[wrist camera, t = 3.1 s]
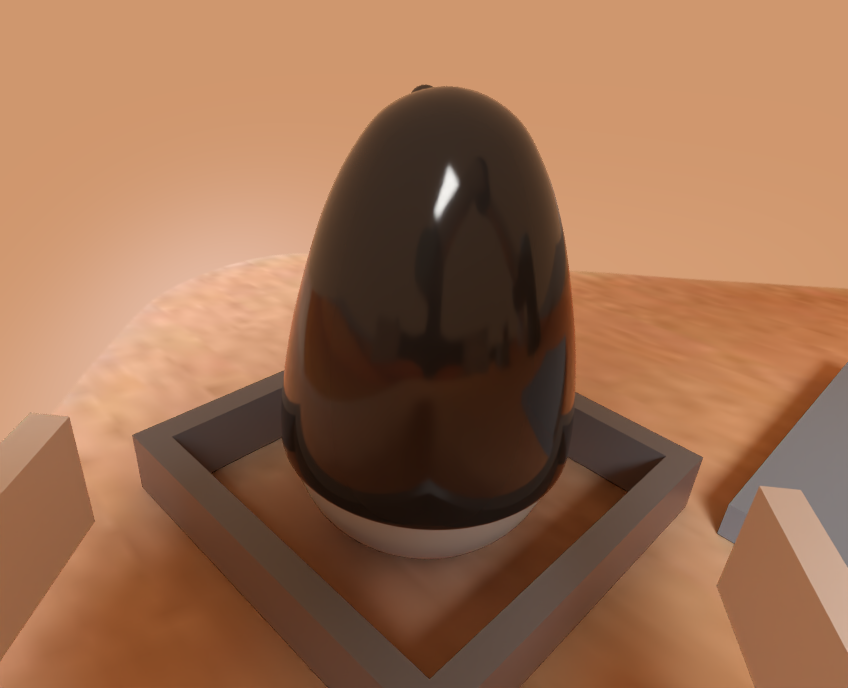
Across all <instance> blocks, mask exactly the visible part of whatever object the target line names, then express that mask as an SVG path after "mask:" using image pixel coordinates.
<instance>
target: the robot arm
mask: <svg viewBox="0 0 848 688" xmlns="http://www.w3.org/2000/svg"><path fill="white" fill-rule="evenodd" d="M94 522H95V520H94V516H93V512H92V508H91V504H90V500H89V495H88V491H87V487H86V483H85V479H84V475H83V471H82V467H81V463H80V459H79V455H78V451H77V447H76V442H75V438H74V434H73V430H72V426H71V422H70V418H69V417H68V416H58V415H48V414H37V413H29V414H28V415H27V416H26V417H25V418H24V419H23V420H22V421H21V422H20V423H19V424H18V426H17V427H16V428H15V429H14V430H13V431H12V432H11V433H10V434H9V435H8V436H7V437H6V438H5V439H4V440H3V441H2V442H1V443H0V661H1V659H2V658H3V656H4V655H5V653H6V652H7V650H8V649H9V647H10V646H11V644H12V643H13V641H14V640H15V639H16V637H17V636H18V634H19V633H20V631H21V630H22V628H23V627H24V625H25V624H26V622H27V621H28V619H29V618H30V616H31V615H32V613H33V612H34V610H35V609H36V607H37V606H38V605H39V603H40V602H41V600H42V599H43V597H44V596H45V594H46V593H47V591H48V590H49V588H50V587H51V585H52V584H53V582H54V581H55V579H56V578H57V576H58V575H59V573H60V572H61V570H62V569H63V568H64V566H65V565H66V563H67V562H68V560H69V559H70V557H71V556H72V554H73V553H74V551H75V550H76V548H77V547H78V545H79V544H80V542H81V541H82V539H83V538H84V536H85V535H86V533H87V532H88V531H89V529H90V528H91V526H92V525H93V523H94ZM717 588H718V591H719V593H720V596H721V599H722V601H723V604H724V607H725V609H726V612H727V615H728V617H729V620H730V623H731V625H732V628H733V631H734V633H735V636H736V639H737V641H738V644H739V646H740V649H741V652H742V654H743V657H744V660H745V662H746V665H747V668H748V670H749V673H750V676H751V678H752V681H753V684H754V686H755V688H848V567H847V566H846V564H845V562H844V561H843V559H842V557H841V556H840V554H839V552H838V551H837V549H836V547H835V546H834V544H833V542H832V541H831V539H830V537H829V536H828V534H827V532H826V531H825V529H824V527H823V526H822V524H821V522H820V521H819V519H818V517H817V516H816V514H815V512H814V511H813V509H812V507H811V506H810V504H809V502H808V501H807V499H806V498H805V496H804V494H803V493H802V491H801V490H797V489H787V488H777V487H767V486H759V488H758V490H757V493H756V495H755V497H754V500H753V502H752V504H751V507H750V509H749V511H748V514H747V516H746V518H745V521H744V523H743V525H742V528H741V530H740V532H739V535H738V537H737V539H736V542H735V544H734V546H733V549H732V551H731V553H730V556H729V558H728V560H727V563H726V565H725V567H724V570H723V572H722V574H721V577H720V579H719V581H718V584H717Z"/></svg>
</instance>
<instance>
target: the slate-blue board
mask: <svg viewBox="0 0 848 688" xmlns="http://www.w3.org/2000/svg"><path fill="white" fill-rule="evenodd" d="M759 486H767V487H777V488H787V489H797V490H801V491H802V493H803V494H804V496H805V498H806V499H807V501H808V502H809V504H810V506H811V507H812V509H813V511H814V512H815V514H816V516H817V517H818V519H819V521H820V522H821V524H822V526H823V527H824V529H825V531H826V532H827V534H828V536H829V537H830V539H831V541H832V542H833V544H834V546H835V547H836V549H837V551H838V552H839V554H840V556H841V557H842V559H843V561H844V562H845V564H846V566H847V567H848V362H847V364H846V365H845V366H844V367H843V368H842V369H841V371H840V372H839V373H838V374H837V375H836V377H835V378H834V379H833V380H832V381H831V383H830V384H829V385H828V386H827V387H826V389H825V390H824V391H823V392H822V393H821V395H820V396H819V397H818V398H817V399H816V401H815V402H814V403H813V404H812V405H811V407H810V408H809V409H808V410H807V411H806V413H805V414H804V415H803V416H802V417H801V419H800V420H799V421H798V422H797V423H796V425H795V426H794V427H793V428H792V429H791V431H790V432H789V433H788V434H787V435H786V437H785V438H784V439H783V440H782V441H781V442H780V444H779V445H778V446H777V447H776V448H775V450H774V451H773V452H772V453H771V454H770V456H769V457H768V458H767V459H766V460H765V462H764V463H763V464H762V465H761V466H760V468H759V469H758V470H757V471H756V472H755V474H754V475H753V476H752V477H751V478H750V480H749V481H748V482H747V483H746V484H745V486H744V487H743V488H742V489H741V490H740V492H739V493H738V494H737V495H736V496H735V498H734V499H733V500H732V501H731V502H730V504H729V505H728V508H727V510H726V513H725V515H724V518H723V520H722V523H721V525H720V528H719V530H718V533H717V534H719V535H721V536H722V537H724V538H726V539H728V540H729V541H731V542H733V543H735V542H736V539H737V537H738V535H739V532H740V530H741V528H742V525H743V523H744V521H745V518H746V516H747V514H748V511H749V509H750V507H751V504H752V502H753V500H754V497H755V495H756V493H757V490H758V488H759Z"/></svg>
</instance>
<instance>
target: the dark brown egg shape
mask: <svg viewBox="0 0 848 688" xmlns="http://www.w3.org/2000/svg"><path fill="white" fill-rule="evenodd" d="M575 378H576V349H575V326H574V313H573V302H572V292H571V283H570V274H569V266H568V258H567V251H566V244H565V238H564V233H563V227H562V223H561V218H560V214H559V209H558V205H557V202H556V198H555V194H554V191H553V188H552V184H551V181H550V179H549V176H548V173H547V171H546V168H545V165H544V163H543V161H542V158H541V156H540V154H539V151H538V150H537V147H536V145H535V143H534V141H533V139H532V137H531V136H530V134H529V132H528V131H527V129H526V128H525V126H524V125H523V124H522V122H521V121H520V120H519V119H518V118H517V117H516V116H515V115H514V114H513V113H512V112H511V111H510V110H508V109H507V108H506V107H505V106H503V105H502V104H500V103H499V102H497V101H496V100H494V99H492V98H490V97H489V96H486V95H484V94H482V93H479V92H477V91H474V90H470V89H465V88H460V87H448V86H446V87H445V86H442V87H432V86H430V85H421V86H418V87H416V88H415V89H414V90H413V91H412V92H411V94H408V95H406V96H403V97H402V98H399V99H398V100H396V101H394V102H393V103H391V104H390V105H388V106H387V107H385V108H384V109H383V110H382V111H381V112H379V113H378V114H377V116H375V117H374V119H373V120H372V121H371V122H370V123H369V124H368V126H367V127H366V128H365V130H364V131H363V133H362V134H361V135H360V137H359V138H358V140H357V142H356V143H355V145H354V146H353V148H352V149H351V151H350V153H349V154H348V156H347V158H346V160H345V162H344V164H343V166H342V167H341V169H340V171H339V173H338V175H337V177H336V179H335V182H334V184H333V186H332V188H331V191H330V193H329V196H328V198H327V200H326V203H325V206H324V208H323V211H322V213H321V216H320V219H319V222H318V225H317V228H316V232H315V235H314V238H313V241H312V245H311V248H310V252H309V255H308V259H307V263H306V266H305V270H304V274H303V277H302V281H301V285H300V289H299V293H298V297H297V301H296V306H295V310H294V315H293V320H292V325H291V330H290V335H289V341H288V348H287V355H286V362H285V370H284V378H283V386H282V396H281V432H282V441H283V446H284V449H285V452H286V455H287V457H288V459H289V462H290V463H291V465H292V467H293V468H294V470H295V471H296V473H297V474H298V475H299V476H300V478H301V479H302V481H303V483H304V485H305V487H306V489H307V491H308V493H309V494H310V496H311V498H312V499H313V501H314V502H315V503H316V505H317V506H318V508H319V509H320V510H321V511H322V512H323V514H324V515H325V516H326V517H327V518H328V519H329V520H330V521H331V522H332V523H333V524H334V525H335V526H337V527H338V528H339V529H340V530H341V531H343V532H344V533H346V534H347V535H348V536H350V537H352V538H353V539H355V540H357V541H358V542H360V543H362V544H364V545H366V546H368V547H370V548H373V549H375V550H378V551H381V552H384V553H388V554H391V555H396V556H400V557H407V558H415V559H439V558H448V557H454V556H459V555H463V554H466V553H470V552H473V551H475V550H478V549H481V548H483V547H485V546H487V545H489V544H491V543H493V542H495V541H497V540H498V539H500V538H501V537H503V536H505V535H506V534H507V533H509V532H510V531H511V530H512V529H514V528H515V527H516V526H517V525H518V524H519V523H520V522H521V521H522V520H523V519H524V518H525V517H526V516H527V515H528V514H529V513H530V512H531V510H532V509H533V508H534V506H535V505H536V504H537V502H538V501H539V500H540V498H542V497H543V496H544V495H545V494H546V493H547V492H548V491H549V490H550V489H551V488H552V487H553V485H554V484H555V483H556V481H557V480H558V478H559V477H560V475H561V473H562V471H563V469H564V466H565V463H566V460H567V456H568V452H569V448H570V443H571V437H572V430H573V421H574V406H575Z"/></svg>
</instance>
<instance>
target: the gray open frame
mask: <svg viewBox="0 0 848 688" xmlns="http://www.w3.org/2000/svg"><path fill="white" fill-rule="evenodd" d="M283 378H284V371H282V372H279V373H277V374H275V375H272V376H270V377H268V378H265V379H263V380H261V381H258V382H256V383H253V384H251V385H249V386H246V387H244V388H242V389H239V390H237V391H235V392H232V393H230V394H228V395H225V396H223V397H221V398H218V399H216V400H214V401H211V402H209V403H207V404H204V405H202V406H200V407H197V408H195V409H192V410H190V411H188V412H185V413H183V414H181V415H178V416H176V417H174V418H171V419H169V420H167V421H164V422H162V423H160V424H157V425H155V426H153V427H150V428H148V429H146V430H143V431H141V432H139V433H136V434H134V435H132V436H133V441H134V446H135V451H136V456H137V462H138V467H139V472H140V477H141V482H142V487H143V488H144V489H145V490H146V491H147V492H148V493H149V494H150V495H151V497H152V498H153V499H154V500H155V501H156V502H157V503H158V504H159V505H160V506H161V507H162V508H163V510H164V511H165V512H166V513H167V514H168V515H169V516H170V517H171V518H172V519H173V520H174V521H175V522H176V524H177V525H178V526H179V527H180V528H181V529H182V530H183V531H184V532H185V533H186V534H187V535H188V537H189V538H190V539H191V540H192V541H193V542H194V543H195V544H196V545H197V546H198V547H199V548H200V550H201V551H202V552H203V553H204V554H205V555H206V556H207V557H208V558H209V559H210V560H211V561H212V563H213V564H214V565H215V566H216V567H217V568H218V569H219V570H220V571H221V572H222V573H223V574H224V575H225V577H226V578H227V579H228V580H229V581H230V582H231V583H232V584H233V585H234V586H235V587H236V588H237V590H238V591H239V592H240V593H241V594H242V595H243V596H244V597H245V598H246V599H247V600H248V601H249V603H250V604H251V605H252V606H253V607H254V608H255V609H256V610H257V611H258V612H259V613H260V614H261V615H262V617H263V618H264V619H265V620H266V621H267V622H268V623H269V624H270V625H271V626H272V627H273V628H274V630H275V631H276V632H277V633H278V634H279V635H280V636H281V637H282V638H283V639H284V640H285V641H286V643H287V644H288V645H289V646H290V647H291V648H292V649H293V650H294V651H295V652H296V653H297V654H298V655H299V657H300V658H301V659H302V660H303V661H304V662H305V663H306V664H307V665H308V666H309V667H310V668H311V670H312V671H313V672H314V673H315V674H316V675H317V676H318V677H319V678H320V679H321V680H322V681H323V683H324V684H325V685H326V686H327V687H328V688H519V687H520V686H521V685H522V684H523V683H524V682H525V681H526V680H527V679H528V677H529V676H530V675H531V674H532V673H533V672H534V671H535V670H536V669H537V668H538V667H539V666H540V664H541V663H542V662H543V661H544V660H545V659H546V658H547V657H548V656H549V655H550V654H551V652H552V651H553V650H554V649H555V648H556V647H557V646H558V645H559V644H560V643H561V642H562V640H563V639H564V638H565V637H566V636H567V635H568V634H569V633H570V632H571V631H572V630H573V628H574V627H575V626H576V625H577V624H578V623H579V622H580V621H581V620H582V619H583V618H584V616H585V615H586V614H587V613H588V612H589V611H590V610H591V609H592V608H593V607H594V606H595V605H596V603H597V602H598V601H599V600H600V599H601V598H602V597H603V596H604V595H605V594H606V593H607V591H608V590H609V589H610V588H611V587H612V586H613V585H614V584H615V583H616V582H617V581H618V579H619V578H620V577H621V576H622V575H623V574H624V573H625V572H626V571H627V570H628V569H629V567H630V566H631V565H632V564H633V563H634V562H635V561H636V560H637V559H638V558H639V557H640V555H641V554H642V553H643V552H644V551H645V550H646V549H647V548H648V547H649V546H650V545H651V544H652V542H653V541H654V540H655V539H656V538H657V537H658V536H659V535H660V534H661V533H662V532H663V530H664V529H665V528H666V527H667V526H668V525H669V524H670V523H671V522H672V521H673V520H674V518H675V517H676V516H677V515H678V514H679V513H680V512H681V511H682V510H683V509H684V508H685V506H686V504H687V501H688V499H689V496H690V493H691V490H692V487H693V484H694V482H695V479H696V476H697V473H698V470H699V468H700V465H701V462H702V459H703V457H701V456H699V455H697V454H695V453H693V452H691V451H689V450H687V449H686V448H684V447H682V446H680V445H678V444H676V443H674V442H672V441H670V440H668V439H666V438H664V437H662V436H660V435H658V434H656V433H654V432H652V431H650V430H648V429H646V428H645V427H643V426H641V425H639V424H637V423H635V422H633V421H631V420H629V419H627V418H625V417H623V416H621V415H619V414H617V413H615V412H613V411H611V410H609V409H607V408H605V407H604V406H602V405H600V404H598V403H596V402H594V401H592V400H590V399H588V398H586V397H584V396H582V395H580V394H578V393H576V392H575V406H574V421H573V430H572V437H571V443H570V448H569V452H568V457H569V458H571V459H573V460H574V461H576V462H578V463H580V464H581V465H583V466H585V467H587V468H588V469H590V470H592V471H593V472H595V473H597V474H599V475H600V476H602V477H604V478H605V479H607V480H609V481H611V482H612V483H614V484H616V485H617V486H619V487H621V488H623V489H624V490H626V491H628V493H627V494H626V495H625V496H623V497H622V498H621V499H620V500H619V501H618V502H617V503H616V504H615V505H614V506H613V507H612V508H611V509H610V510H609V511H608V512H606V513H605V514H604V515H603V516H602V517H601V518H600V519H599V520H598V521H597V522H596V523H595V524H594V525H593V526H592V527H591V528H589V529H588V530H587V531H586V532H585V533H584V534H583V535H582V536H581V537H580V538H579V539H578V540H577V541H576V542H575V543H574V544H573V545H571V546H570V547H569V548H568V549H567V550H566V551H565V552H564V553H563V554H562V555H561V556H560V557H559V558H558V559H557V560H556V561H554V562H553V563H552V564H551V565H550V566H549V567H548V568H547V569H546V570H545V571H544V572H543V573H542V574H541V575H540V576H539V577H537V578H536V579H535V580H534V581H533V582H532V583H531V584H530V585H529V586H528V587H527V588H526V589H525V590H524V591H523V592H522V593H520V594H519V595H518V596H517V597H516V598H515V599H514V600H513V601H512V602H511V603H510V604H509V605H508V606H507V607H506V608H505V609H503V610H502V611H501V612H500V613H499V614H498V615H497V616H496V617H495V618H494V619H493V620H492V621H491V622H490V623H489V624H488V625H486V626H485V627H484V628H483V629H482V630H481V631H480V632H479V633H478V634H477V635H476V636H475V637H474V638H473V639H472V640H471V641H469V642H468V643H467V644H466V645H465V646H464V647H463V648H462V649H461V650H460V651H459V652H458V653H457V654H456V655H455V656H454V657H453V658H451V659H450V660H449V661H448V662H447V663H446V664H445V665H444V666H443V667H442V668H441V669H440V670H439V671H438V672H437V673H436V674H434V675H433V676H432V677H431V678H430V679H429V678H428V677H426V676H425V675H424V674H423V673H422V672H421V671H420V670H419V669H418V668H417V667H416V666H415V665H414V664H413V663H412V662H411V661H410V660H408V659H407V658H406V657H405V656H404V655H403V654H402V653H401V652H400V651H399V650H398V649H397V648H396V647H395V646H394V645H393V644H391V643H390V642H389V641H388V640H387V639H386V638H385V637H384V636H383V635H382V634H381V633H380V632H379V631H378V630H377V629H376V628H374V627H373V626H372V625H371V624H370V623H369V622H368V621H367V620H366V619H365V618H364V617H363V616H362V615H361V614H360V613H359V612H357V611H356V610H355V609H354V608H353V607H352V606H351V605H350V604H349V603H348V602H347V601H346V600H345V599H344V598H343V597H342V596H340V595H339V594H338V593H337V592H336V591H335V590H334V589H333V588H332V587H331V586H330V585H329V584H328V583H327V582H326V581H325V580H323V579H322V578H321V577H320V576H319V575H318V574H317V573H316V572H315V571H314V570H313V569H312V568H311V567H310V566H309V565H308V564H306V563H305V562H304V561H303V560H302V559H301V558H300V557H299V556H298V555H297V554H296V553H295V552H294V551H293V550H292V549H291V548H289V547H288V546H287V545H286V544H285V543H284V542H283V541H282V540H281V539H280V538H279V537H278V536H277V535H276V534H275V533H274V532H272V531H271V530H270V529H269V528H268V527H267V526H266V525H265V524H264V523H263V522H262V521H261V520H260V519H259V518H258V517H257V516H255V515H254V514H253V513H252V512H251V511H250V510H249V509H248V508H247V507H246V506H245V505H244V504H243V503H242V502H241V501H240V500H238V499H237V498H236V497H235V496H234V495H233V494H232V493H231V492H230V491H229V490H228V489H227V488H226V487H225V486H224V485H223V484H221V483H220V482H219V481H218V480H217V479H216V478H215V477H214V476H213V475H212V474H211V472H213V471H215V470H217V469H219V468H221V467H223V466H225V465H227V464H229V463H231V462H233V461H235V460H237V459H239V458H241V457H243V456H245V455H247V454H249V453H251V452H253V451H255V450H257V449H259V448H261V447H263V446H265V445H267V444H269V443H271V442H273V441H275V440H277V439H279V438H281V437H282V432H281V396H282V386H283Z"/></svg>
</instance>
